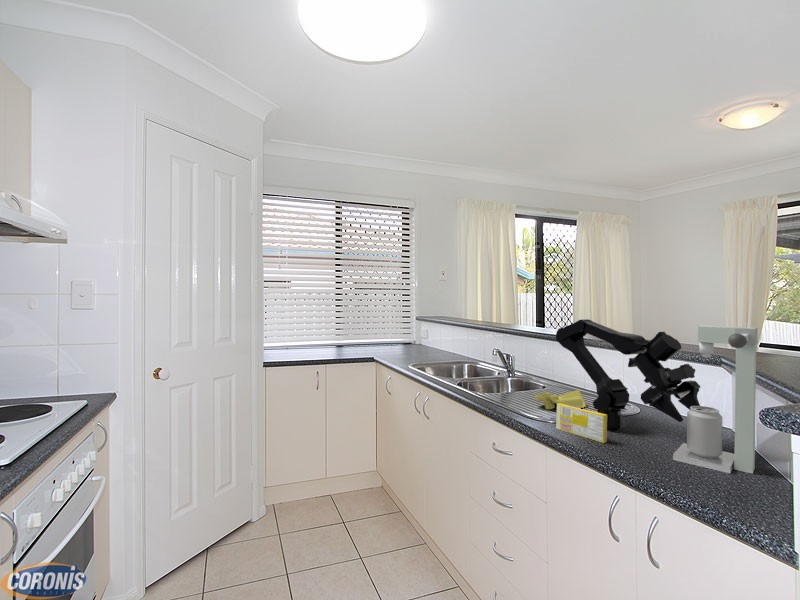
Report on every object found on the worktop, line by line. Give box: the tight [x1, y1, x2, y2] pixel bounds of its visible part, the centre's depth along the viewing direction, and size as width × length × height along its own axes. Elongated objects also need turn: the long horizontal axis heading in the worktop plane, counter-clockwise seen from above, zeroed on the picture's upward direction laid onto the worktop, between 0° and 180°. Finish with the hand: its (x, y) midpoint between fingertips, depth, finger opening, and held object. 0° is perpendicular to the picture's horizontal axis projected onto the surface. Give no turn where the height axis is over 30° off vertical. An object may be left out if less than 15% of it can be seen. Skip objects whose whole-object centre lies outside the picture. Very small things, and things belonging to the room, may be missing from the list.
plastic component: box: [533, 390, 587, 410], centre depth 161 cm, size 20×7×10 cm
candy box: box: [555, 403, 608, 444], centre depth 129 cm, size 16×2×8 cm, turn 33°
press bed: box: [672, 442, 734, 474], centre depth 109 cm, size 12×12×2 cm
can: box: [686, 405, 723, 458], centre depth 110 cm, size 8×8×12 cm
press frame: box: [697, 325, 758, 475], centre depth 101 cm, size 11×21×35 cm, turn 135°
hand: (692, 419), depth 112 cm, fingers open, 9 cm apart
